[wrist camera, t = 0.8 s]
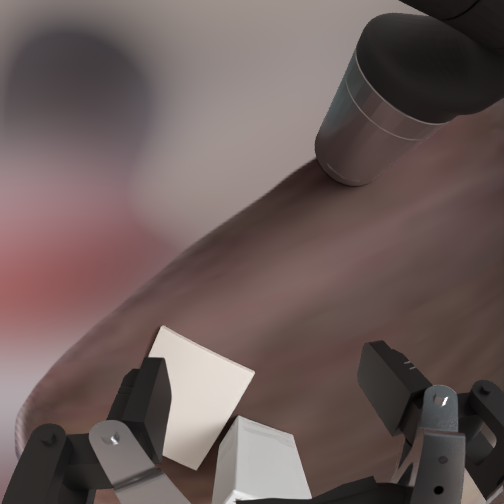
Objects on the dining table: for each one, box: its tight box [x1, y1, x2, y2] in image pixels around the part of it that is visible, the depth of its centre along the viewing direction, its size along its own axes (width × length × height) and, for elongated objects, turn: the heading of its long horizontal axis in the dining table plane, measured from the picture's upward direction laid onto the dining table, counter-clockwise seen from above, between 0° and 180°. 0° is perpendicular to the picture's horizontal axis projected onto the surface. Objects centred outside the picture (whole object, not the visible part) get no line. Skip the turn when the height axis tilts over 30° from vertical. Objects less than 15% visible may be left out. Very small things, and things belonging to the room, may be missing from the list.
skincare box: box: [212, 416, 312, 504], centre depth 24 cm, size 8×6×15 cm
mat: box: [148, 326, 255, 470], centre depth 31 cm, size 18×12×1 cm, turn 154°
